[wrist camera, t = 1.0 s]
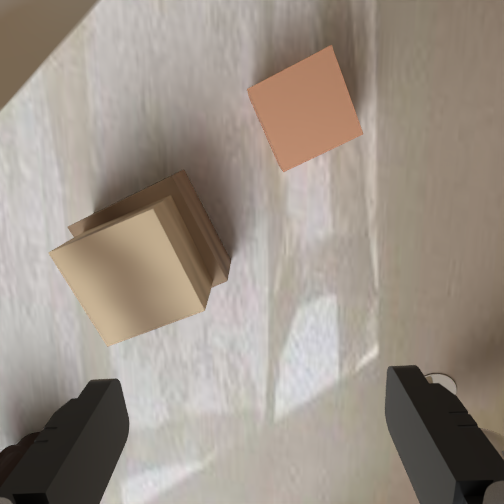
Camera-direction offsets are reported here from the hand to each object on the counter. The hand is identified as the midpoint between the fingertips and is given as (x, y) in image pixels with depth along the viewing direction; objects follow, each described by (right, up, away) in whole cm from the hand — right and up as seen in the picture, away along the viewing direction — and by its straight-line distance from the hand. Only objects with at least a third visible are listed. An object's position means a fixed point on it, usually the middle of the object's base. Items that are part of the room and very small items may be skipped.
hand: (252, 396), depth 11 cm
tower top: (-7, +4, +15) cm, 17 cm away
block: (+3, +15, +16) cm, 22 cm away
